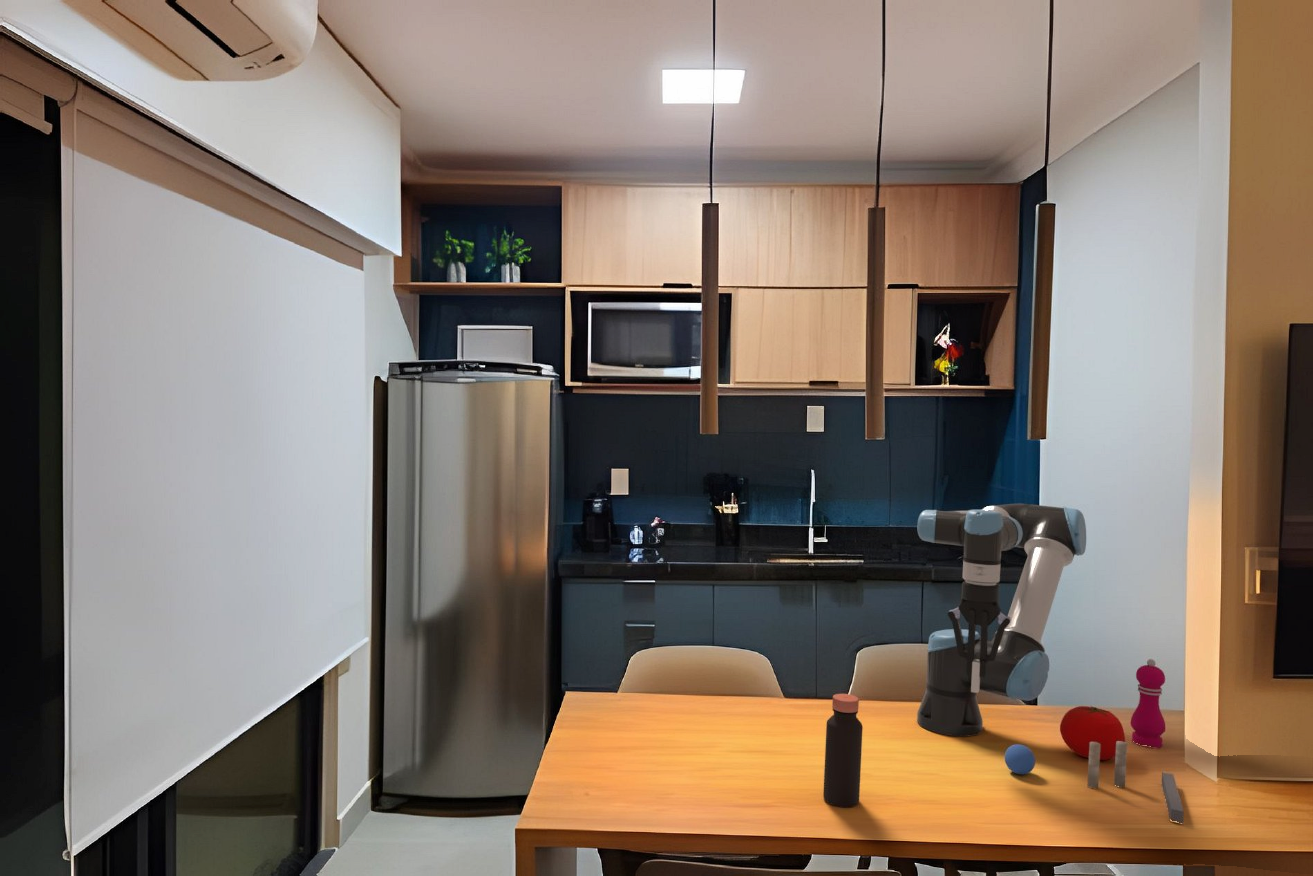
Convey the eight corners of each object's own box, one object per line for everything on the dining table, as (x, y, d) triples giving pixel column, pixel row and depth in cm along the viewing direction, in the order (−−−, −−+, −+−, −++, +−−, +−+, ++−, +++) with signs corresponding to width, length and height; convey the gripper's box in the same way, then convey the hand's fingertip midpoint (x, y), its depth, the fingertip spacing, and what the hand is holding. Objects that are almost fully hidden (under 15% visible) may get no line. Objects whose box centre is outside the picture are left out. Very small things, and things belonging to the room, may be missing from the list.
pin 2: (1114, 786, 181) (1116, 743, 181) (1113, 783, 183) (1116, 740, 183) (1125, 788, 180) (1127, 745, 180) (1124, 785, 182) (1126, 742, 182)
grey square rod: (1170, 822, 166) (1171, 809, 166) (1161, 784, 184) (1162, 772, 184) (1182, 824, 165) (1183, 811, 165) (1172, 786, 183) (1173, 774, 183)
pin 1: (1087, 787, 180) (1089, 744, 180) (1087, 784, 182) (1089, 741, 182) (1098, 789, 179) (1100, 746, 179) (1098, 786, 181) (1100, 743, 181)
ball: (1002, 775, 185) (1004, 747, 185) (1004, 765, 190) (1006, 738, 190) (1033, 781, 182) (1035, 752, 182) (1035, 771, 188) (1036, 743, 188)
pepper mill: (1162, 751, 203) (1166, 665, 202) (1127, 743, 207) (1131, 659, 206) (1166, 743, 208) (1171, 659, 208) (1132, 735, 213) (1136, 653, 212)
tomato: (1121, 771, 190) (1124, 720, 189) (1055, 756, 197) (1058, 707, 197) (1126, 754, 200) (1129, 706, 199) (1063, 741, 207) (1066, 694, 207)
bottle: (815, 798, 170) (820, 695, 170) (839, 790, 174) (843, 690, 174) (842, 811, 165) (847, 705, 164) (866, 803, 169) (871, 699, 168)
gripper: (946, 581, 189) (941, 690, 189) (1012, 588, 183) (1006, 701, 184) (951, 576, 196) (946, 681, 196) (1014, 583, 190) (1008, 691, 190)
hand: (975, 690), depth 190 cm, fingers closed
